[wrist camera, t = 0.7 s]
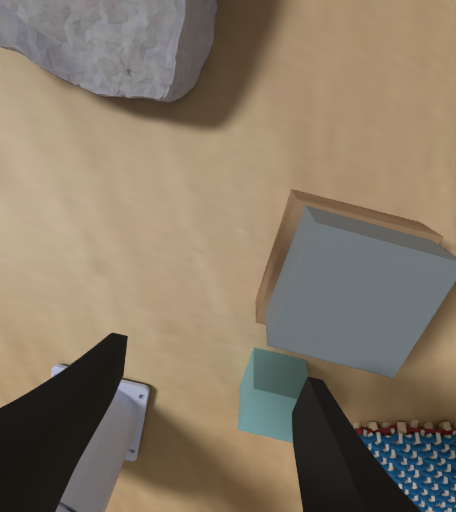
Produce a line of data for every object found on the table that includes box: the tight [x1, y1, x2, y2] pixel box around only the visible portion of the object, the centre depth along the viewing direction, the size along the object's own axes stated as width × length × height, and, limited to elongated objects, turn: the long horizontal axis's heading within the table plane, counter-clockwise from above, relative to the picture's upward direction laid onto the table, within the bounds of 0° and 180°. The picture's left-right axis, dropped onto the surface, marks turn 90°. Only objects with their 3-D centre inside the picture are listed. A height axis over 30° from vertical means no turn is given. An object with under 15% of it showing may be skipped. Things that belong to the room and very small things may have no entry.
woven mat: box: [353, 420, 456, 512], centre depth 27 cm, size 10×11×2 cm
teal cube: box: [238, 348, 308, 443], centre depth 23 cm, size 4×4×4 cm
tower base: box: [256, 189, 443, 325], centre depth 19 cm, size 8×8×3 cm
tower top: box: [265, 205, 456, 378], centre depth 17 cm, size 7×7×3 cm
